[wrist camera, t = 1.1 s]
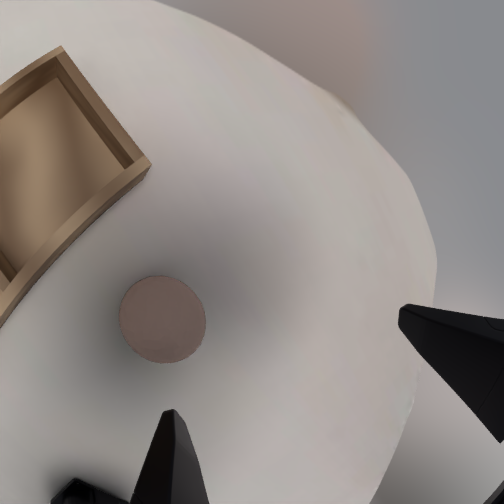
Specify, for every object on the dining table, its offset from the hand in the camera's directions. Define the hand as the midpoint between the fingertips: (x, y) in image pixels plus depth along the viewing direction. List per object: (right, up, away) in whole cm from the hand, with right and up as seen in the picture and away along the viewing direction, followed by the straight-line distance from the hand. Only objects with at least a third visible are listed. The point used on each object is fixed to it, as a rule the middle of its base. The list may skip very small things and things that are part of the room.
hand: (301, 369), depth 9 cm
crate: (-20, +7, +4) cm, 21 cm away
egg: (-9, 0, +10) cm, 14 cm away
